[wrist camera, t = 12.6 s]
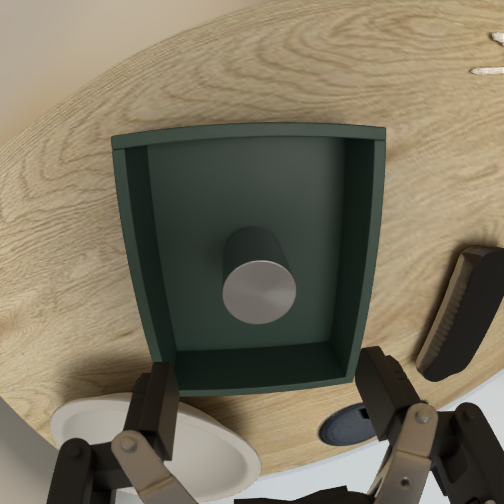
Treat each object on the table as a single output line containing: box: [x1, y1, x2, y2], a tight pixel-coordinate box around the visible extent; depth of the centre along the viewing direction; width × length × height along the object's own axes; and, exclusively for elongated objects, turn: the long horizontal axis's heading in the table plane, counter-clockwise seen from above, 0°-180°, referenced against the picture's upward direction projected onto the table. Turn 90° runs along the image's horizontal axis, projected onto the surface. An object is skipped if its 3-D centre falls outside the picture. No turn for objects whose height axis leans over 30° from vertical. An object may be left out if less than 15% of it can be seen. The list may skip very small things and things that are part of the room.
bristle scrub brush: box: [416, 245, 504, 382], centre depth 28 cm, size 16×8×4 cm, turn 173°
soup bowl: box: [50, 393, 261, 502], centre depth 30 cm, size 24×24×7 cm
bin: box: [111, 122, 386, 396], centre depth 22 cm, size 20×16×6 cm
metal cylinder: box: [222, 227, 296, 324], centre depth 21 cm, size 4×4×6 cm
